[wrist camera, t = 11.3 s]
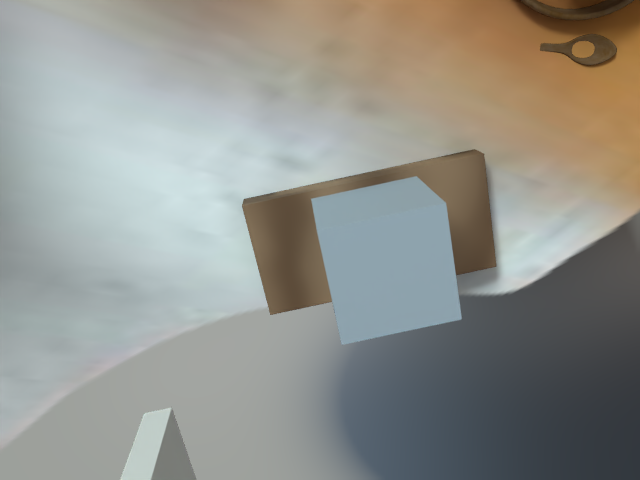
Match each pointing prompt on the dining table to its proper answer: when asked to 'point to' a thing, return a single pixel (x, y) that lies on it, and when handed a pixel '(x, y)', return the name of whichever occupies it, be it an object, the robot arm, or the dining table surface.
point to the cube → (387, 259)
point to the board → (296, 206)
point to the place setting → (602, 44)
